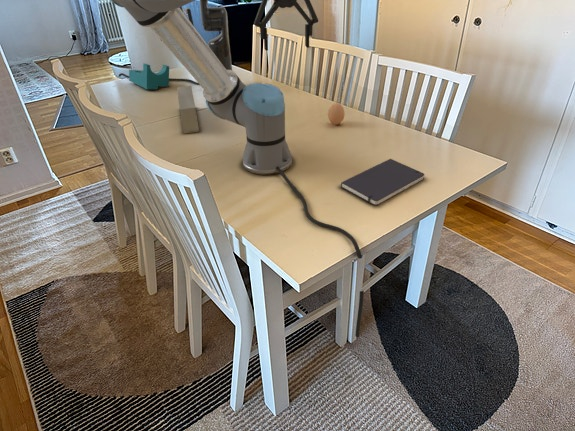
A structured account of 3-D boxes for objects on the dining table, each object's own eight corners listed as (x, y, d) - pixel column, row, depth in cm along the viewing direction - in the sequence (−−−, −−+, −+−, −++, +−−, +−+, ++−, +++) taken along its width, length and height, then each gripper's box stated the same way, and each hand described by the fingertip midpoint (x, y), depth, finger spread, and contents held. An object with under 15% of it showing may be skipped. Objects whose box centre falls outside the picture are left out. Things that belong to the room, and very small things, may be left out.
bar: (199, 131, 147) (195, 107, 141) (183, 133, 146) (179, 109, 140) (194, 107, 166) (191, 85, 161) (181, 109, 165) (177, 87, 160)
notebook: (389, 163, 124) (340, 187, 113) (390, 158, 123) (341, 182, 112) (424, 178, 116) (375, 206, 105) (425, 174, 115) (376, 201, 104)
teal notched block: (168, 89, 190) (169, 66, 185) (146, 89, 182) (147, 65, 178) (150, 81, 201) (150, 59, 196) (129, 80, 193) (129, 57, 189)
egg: (332, 128, 146) (333, 107, 141) (324, 122, 150) (325, 101, 146) (346, 125, 148) (348, 104, 143) (338, 119, 152) (339, 99, 148)
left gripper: (187, -12, 142) (194, 37, 152) (145, -10, 140) (156, 40, 149) (188, -10, 136) (196, 41, 146) (145, -7, 134) (155, 45, 143)
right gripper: (322, -31, 124) (321, 42, 136) (241, -27, 120) (247, 48, 133) (329, -29, 118) (326, 48, 130) (244, -25, 114) (250, 53, 127)
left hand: (175, 41), depth 147 cm, fingers open, 8 cm apart
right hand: (286, 48), depth 132 cm, fingers open, 13 cm apart
